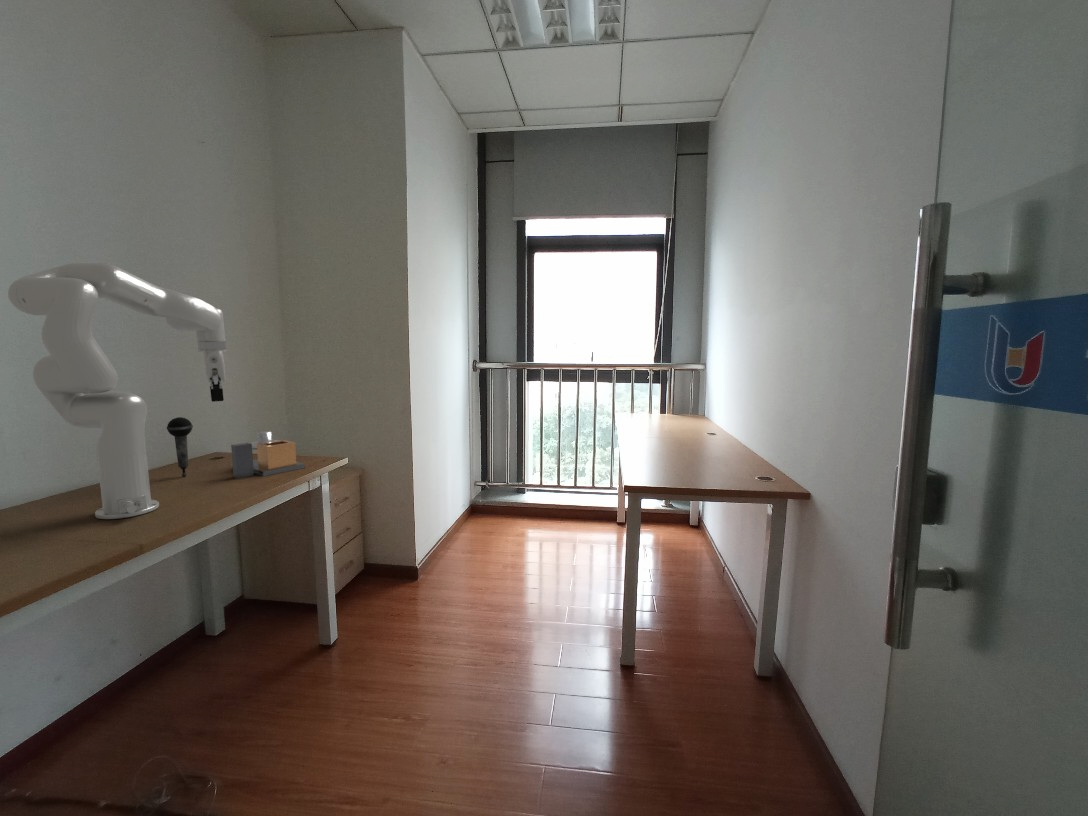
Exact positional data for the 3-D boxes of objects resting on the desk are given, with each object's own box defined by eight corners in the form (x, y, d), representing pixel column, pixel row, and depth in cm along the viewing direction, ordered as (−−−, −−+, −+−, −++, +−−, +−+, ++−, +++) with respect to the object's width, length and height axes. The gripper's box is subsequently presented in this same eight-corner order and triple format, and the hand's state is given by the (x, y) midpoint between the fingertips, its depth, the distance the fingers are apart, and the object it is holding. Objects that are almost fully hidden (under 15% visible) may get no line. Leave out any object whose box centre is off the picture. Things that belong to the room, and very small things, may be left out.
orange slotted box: (304, 467, 169) (302, 433, 167) (263, 476, 158) (261, 439, 156) (277, 459, 181) (275, 427, 179) (237, 467, 169) (234, 433, 168)
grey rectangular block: (253, 475, 159) (251, 443, 157) (237, 478, 154) (235, 446, 153) (249, 474, 160) (247, 442, 159) (233, 477, 156) (231, 444, 155)
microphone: (198, 472, 161) (193, 415, 158) (195, 477, 155) (190, 418, 153) (172, 475, 157) (167, 416, 155) (169, 480, 152) (163, 419, 149)
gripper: (227, 347, 146) (232, 401, 149) (225, 346, 160) (229, 395, 163) (197, 347, 142) (203, 403, 144) (197, 346, 156) (203, 397, 158)
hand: (217, 399), depth 154 cm, fingers open, 9 cm apart
